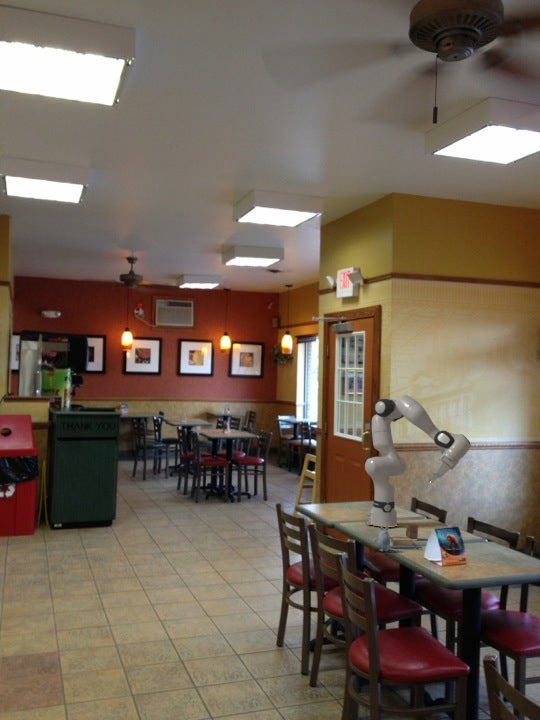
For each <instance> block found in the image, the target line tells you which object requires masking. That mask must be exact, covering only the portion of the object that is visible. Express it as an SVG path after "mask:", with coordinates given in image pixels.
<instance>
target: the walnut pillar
mask: <svg viewBox="0 0 540 720" xmlns="http://www.w3.org/2000/svg"><path fill="white" fill-rule="evenodd" d="M405 526H406V527H405V528H406V529H405V536H407V537H409V538H410V539H417V540H418V539H419V538H418V533H419V524H417V523H415V522H412V523H411V522H407V523H406V525H405Z"/></svg>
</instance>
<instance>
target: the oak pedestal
mask: <svg viewBox="0 0 540 720" xmlns="http://www.w3.org/2000/svg"><path fill="white" fill-rule="evenodd" d="M389 536H390V537H391V538H393V539H394V543H393V542H391V539H390V544H391V545H392V546H412V544H413V542H414V541H413V540H412V539H410V538H409V537H407V536H406V534H402V535H401V534H389Z"/></svg>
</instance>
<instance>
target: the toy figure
mask: <svg viewBox="0 0 540 720" xmlns="http://www.w3.org/2000/svg"><path fill="white" fill-rule="evenodd" d="M380 530H381V531H380V532H379V533H378V536H377V537H375V538H374V539H373V543H374V544H375V543H377V544H378V546H379V547H380V548H379V551H380V552H389V548H388V546H389V545H390V539H391V542H393V543H394V539H393V538H391V537H390V536H389V535H390V534H389V531H388V530H389V528H388V526H386V528H383V526H381V528H380Z"/></svg>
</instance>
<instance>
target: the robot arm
mask: <svg viewBox="0 0 540 720" xmlns="http://www.w3.org/2000/svg"><path fill="white" fill-rule="evenodd" d="M373 408H374V409H373V410H374V412H375V414H374V415H373V416H372V419H371V437H372V444H373V448H374V449H375V450H377V451H378V452H379V453H380V455H381V456H374V457H373V456H372V457H369V458H368V459H366V461H365V464H364V470H365V471H366V473H367V475H369V476H370V478H371V479H372V482H373V487H374V496H373V497H374V499H373V501H372V507H370V509H369V510H368V512H366V517H368V518H367V519H368V520H369V521H370V522H371V524H373V525H378V526H395V525H397V524H398V517H397V515H398V514H397V511H396V509H395V506H396V501H395V492H396V491H395V487H394V485H393V484H392V483H390V482H389V480H388V477H397V476H400V475H401V476H402V475H404V474H405V472H406V470H407V462H406V461H405V460H404V458H403V457H401V456H400V454H398V452H397V450H396V448H395V446H394V442H393V436H392V435H393V434H392V429H391V423H392V422H394V423H396V422H397V421H398V420H401V419H403V418H405V419H406V420H407V421H408V422H410V423H411V424H413V426H415V427H416V428H418V429H419V430H421V431H422V432H423V433H425V434H427V436H429V438H431V440H433V442H434V444H435V446H436V447H437V448H438V449H439V451H440V452H441V454H442V455H440V457H439V458H438V460H439V462H438V465H437V467H436V468H434V470H433V471H432V473H431V474H432V476H431V477H430V478H429V480H428V482H429V483H430V484H433V483H434V482H435V481H436V480H438V479H439V478H442V477H443V476H444V475H445V474H446V473H447V472H448V471H450V470H451V471H453V470H454V468H456V466H457V465H458V464H459V462H460V460H461V459H462V458H464V457H465V455H466V454H467V453H468V452H469V450H470V448H471V441H470V440H469V439H468V438H467V437H466V436H465V435H464V434H456V433H453V432H449V431H447V430H440V429H439V428H438V427H437V426H436V425H435V423H434V422H433V421H432V419H431V417H430V415H429V414H428V412H427V411H426V409H425V408H424V407H423V406H422V405H421V404H420V403H419V401H417V400H416V399H414V398H412V396H409V395H407V394H403V395H401V396H399V397H398V399H389V398H381V399H378V400H377V401H376V402H375V404H374V407H373Z"/></svg>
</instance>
